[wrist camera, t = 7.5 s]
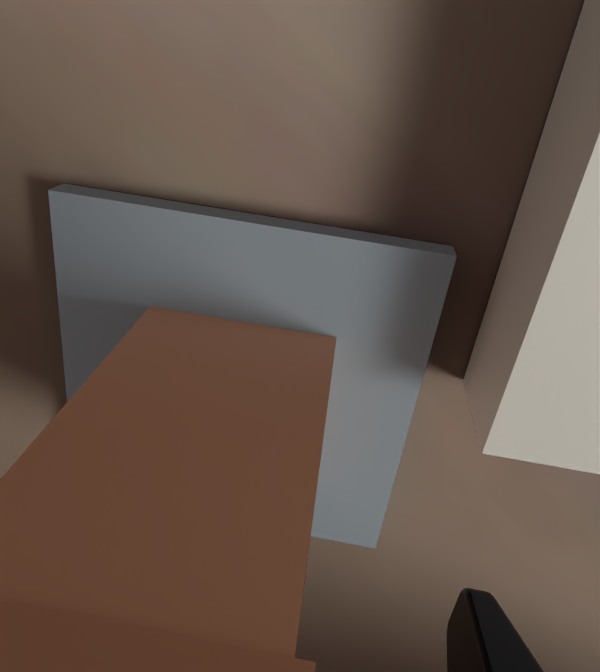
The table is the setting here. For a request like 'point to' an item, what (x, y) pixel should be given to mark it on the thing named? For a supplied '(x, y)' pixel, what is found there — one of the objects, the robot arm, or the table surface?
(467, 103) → the table surface
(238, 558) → the plug
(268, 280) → the pad
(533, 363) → the white flat block
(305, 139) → the table surface
